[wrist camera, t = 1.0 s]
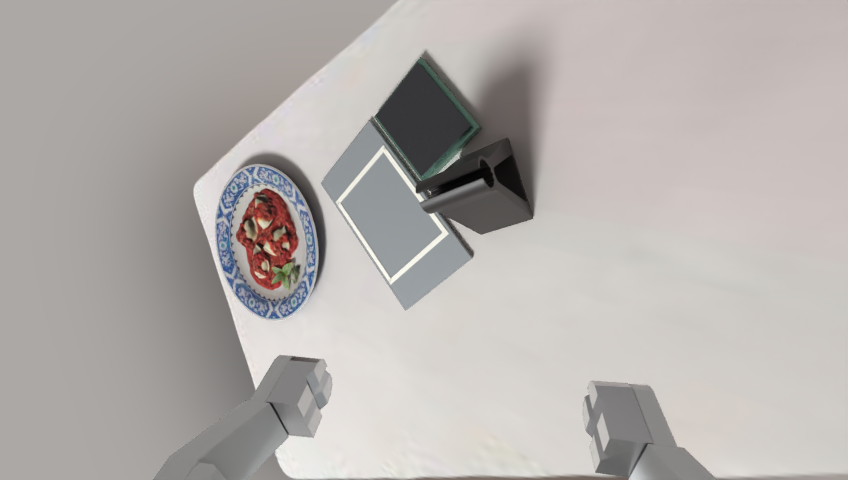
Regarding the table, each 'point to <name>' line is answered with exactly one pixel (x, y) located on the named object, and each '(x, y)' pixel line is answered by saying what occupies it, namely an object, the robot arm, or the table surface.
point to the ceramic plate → (266, 242)
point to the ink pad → (426, 121)
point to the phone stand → (479, 190)
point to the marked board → (393, 218)
